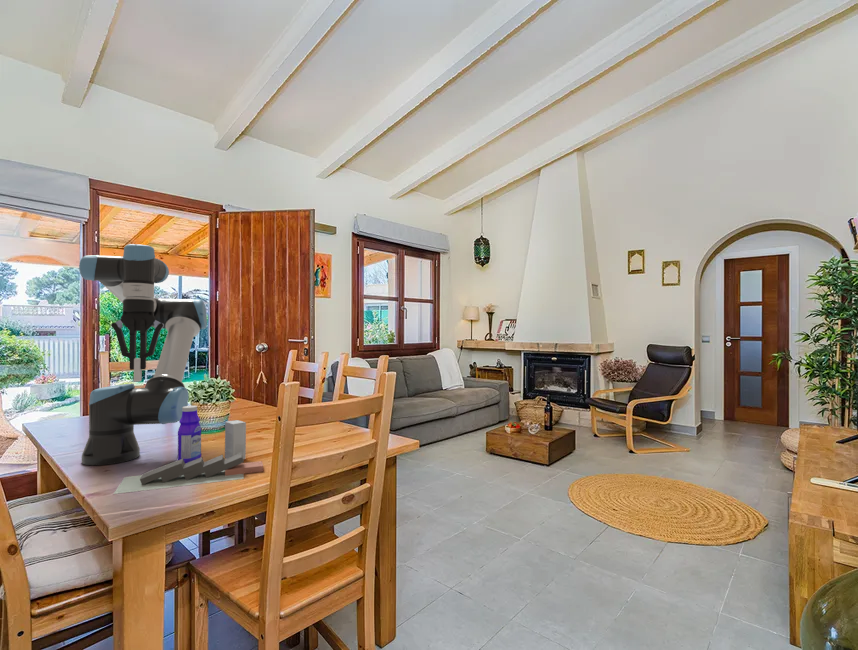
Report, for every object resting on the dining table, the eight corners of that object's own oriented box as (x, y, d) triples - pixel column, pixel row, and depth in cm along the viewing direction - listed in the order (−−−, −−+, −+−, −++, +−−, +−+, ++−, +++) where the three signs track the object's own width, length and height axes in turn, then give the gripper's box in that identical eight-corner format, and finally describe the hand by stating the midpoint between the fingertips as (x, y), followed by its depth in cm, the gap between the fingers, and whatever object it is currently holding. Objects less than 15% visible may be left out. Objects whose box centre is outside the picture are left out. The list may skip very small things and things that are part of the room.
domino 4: (204, 472, 124) (241, 457, 128) (205, 467, 129) (241, 452, 132) (206, 477, 124) (243, 462, 128) (207, 472, 129) (243, 457, 133)
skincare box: (246, 460, 143) (246, 422, 143) (232, 462, 140) (233, 424, 140) (237, 456, 147) (237, 419, 147) (224, 459, 144) (224, 421, 144)
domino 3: (183, 474, 122) (222, 459, 126) (185, 469, 127) (222, 454, 130) (185, 480, 122) (224, 464, 126) (187, 474, 127) (224, 459, 131)
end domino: (225, 469, 126) (263, 465, 130) (225, 465, 131) (262, 461, 135) (225, 475, 126) (263, 471, 130) (225, 470, 131) (262, 466, 135)
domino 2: (161, 477, 120) (201, 461, 124) (163, 471, 124) (202, 456, 128) (163, 482, 120) (203, 466, 124) (165, 477, 125) (204, 462, 128)
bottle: (192, 466, 136) (193, 408, 136) (173, 466, 136) (174, 408, 136) (204, 459, 143) (204, 404, 144) (186, 459, 143) (187, 404, 144)
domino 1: (139, 479, 118) (181, 463, 122) (143, 473, 122) (182, 458, 126) (141, 484, 118) (183, 468, 122) (145, 479, 123) (184, 463, 126)
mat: (113, 495, 112) (113, 493, 112) (125, 478, 125) (125, 477, 125) (243, 479, 124) (243, 478, 124) (242, 465, 137) (242, 464, 137)
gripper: (108, 297, 124) (107, 383, 123) (163, 298, 129) (162, 381, 129) (114, 299, 130) (113, 380, 130) (166, 300, 136) (165, 378, 135)
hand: (137, 381), depth 129 cm, fingers closed
